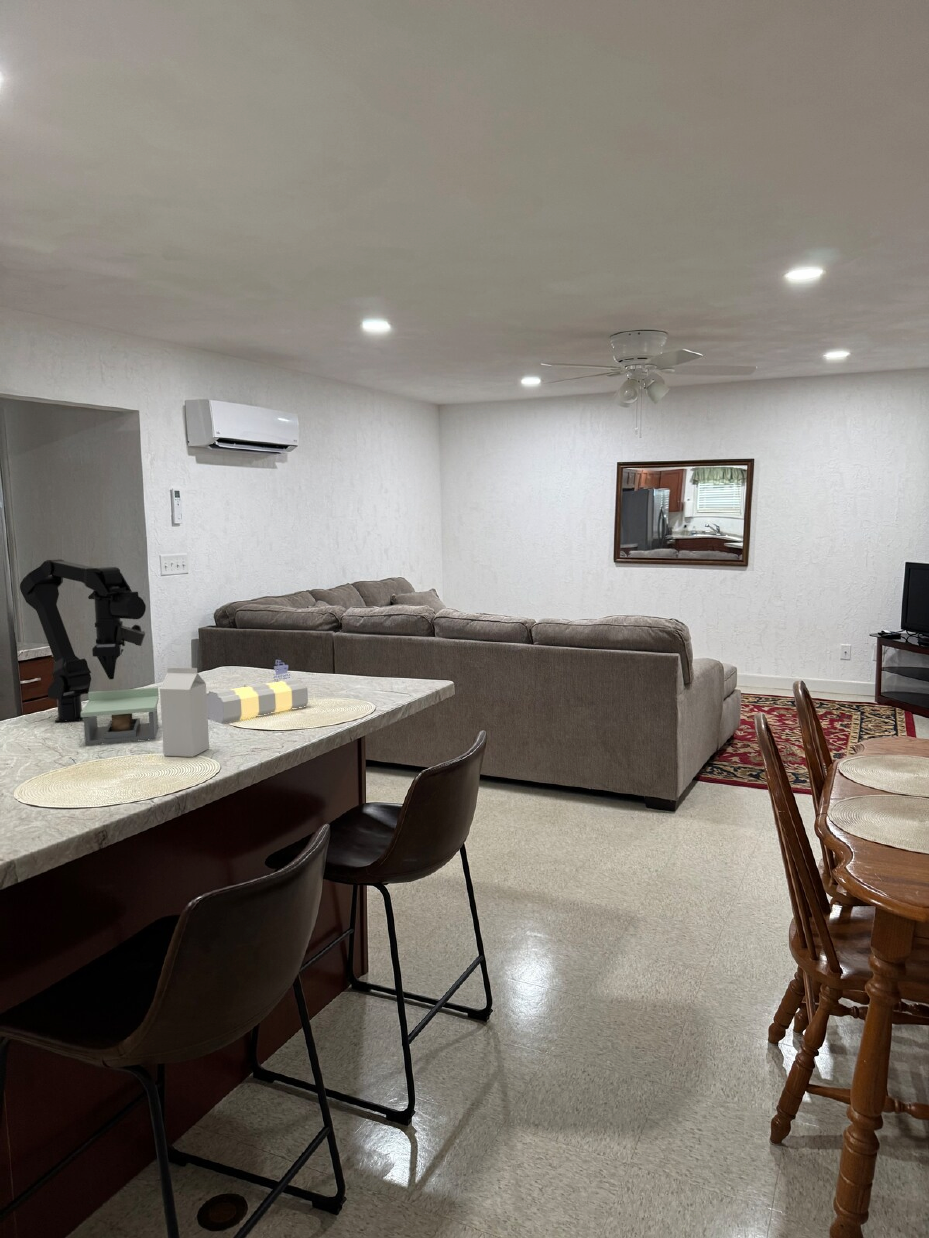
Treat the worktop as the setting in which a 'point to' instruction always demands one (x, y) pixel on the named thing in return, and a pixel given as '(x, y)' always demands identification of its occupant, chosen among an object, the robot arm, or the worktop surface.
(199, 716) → the milk carton
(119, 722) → the brown sleeve
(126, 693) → the lid
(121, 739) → the housing
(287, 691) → the yellow banded gray prism
